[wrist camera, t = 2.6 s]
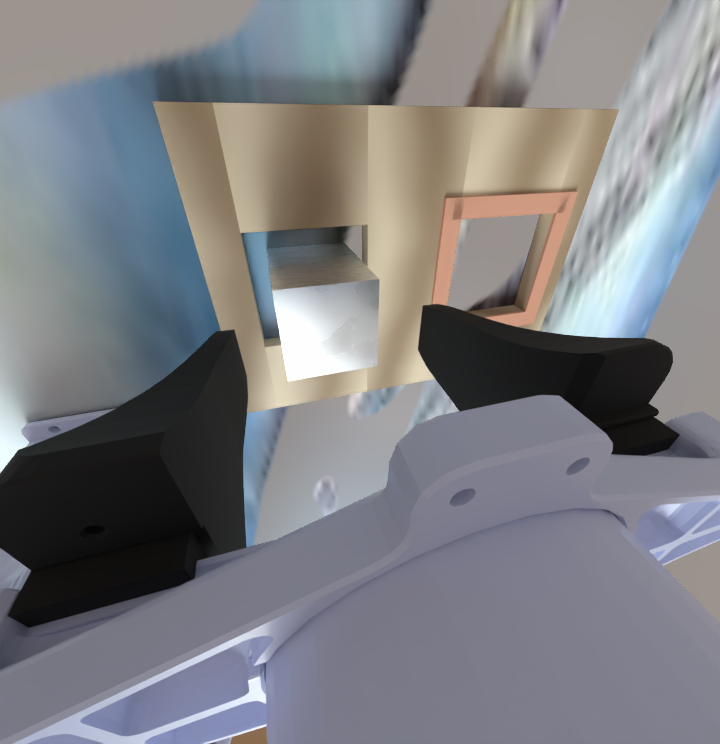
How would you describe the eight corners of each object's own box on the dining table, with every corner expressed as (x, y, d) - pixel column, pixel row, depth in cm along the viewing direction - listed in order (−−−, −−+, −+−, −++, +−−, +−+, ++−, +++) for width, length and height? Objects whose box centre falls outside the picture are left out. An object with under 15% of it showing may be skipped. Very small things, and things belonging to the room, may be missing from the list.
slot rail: (245, 403, 21) (245, 415, 20) (159, 104, 12) (150, 100, 11) (520, 354, 25) (530, 363, 24) (601, 111, 16) (622, 109, 16)
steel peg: (279, 320, 18) (288, 381, 13) (266, 248, 16) (272, 290, 11) (346, 312, 19) (377, 366, 14) (343, 242, 17) (379, 279, 12)
